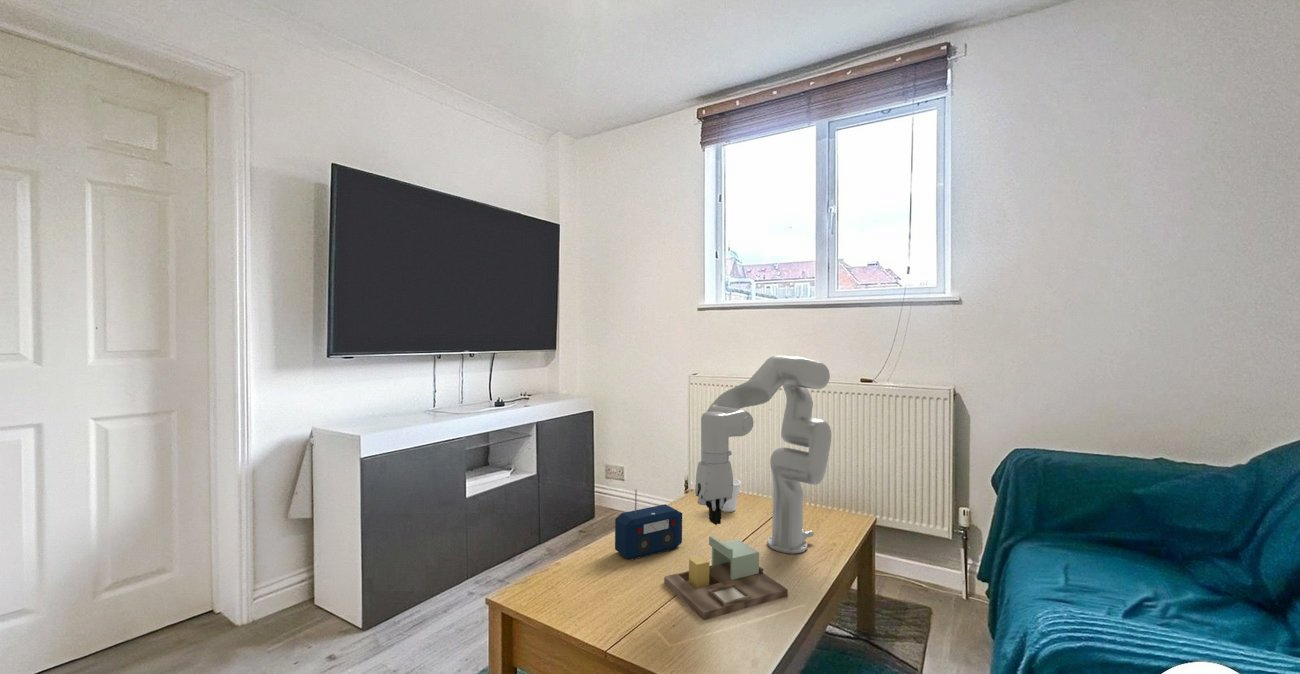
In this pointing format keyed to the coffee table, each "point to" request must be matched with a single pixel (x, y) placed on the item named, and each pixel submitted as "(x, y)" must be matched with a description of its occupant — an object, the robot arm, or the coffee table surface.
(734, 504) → the cup
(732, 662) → the coffee table surface
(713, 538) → the cover
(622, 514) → the radio
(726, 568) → the puzzle board
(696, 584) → the block
